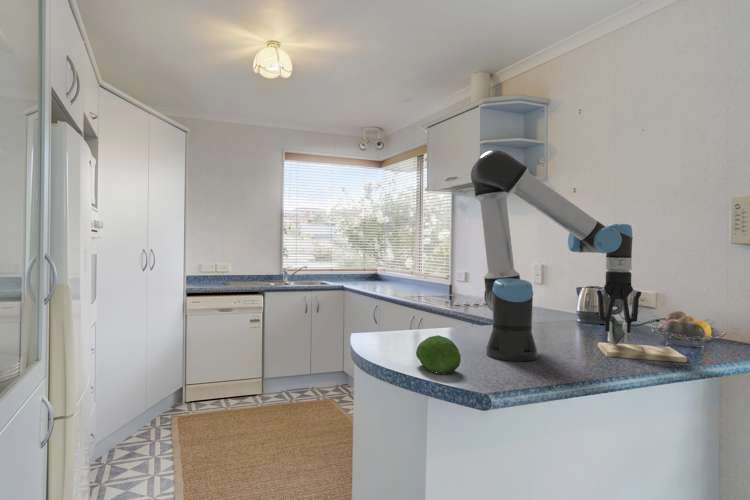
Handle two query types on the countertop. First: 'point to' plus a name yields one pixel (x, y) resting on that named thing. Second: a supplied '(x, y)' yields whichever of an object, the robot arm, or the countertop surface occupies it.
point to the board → (641, 352)
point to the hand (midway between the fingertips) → (617, 341)
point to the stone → (616, 331)
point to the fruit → (438, 354)
